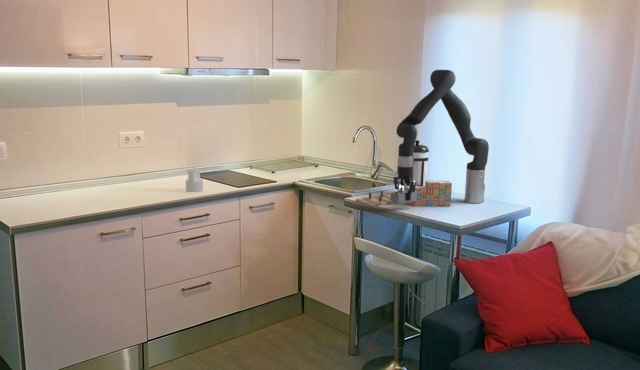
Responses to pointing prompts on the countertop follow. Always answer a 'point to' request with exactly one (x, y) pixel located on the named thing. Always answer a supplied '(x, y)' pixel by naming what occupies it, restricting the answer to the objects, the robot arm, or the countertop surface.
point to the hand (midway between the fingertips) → (404, 199)
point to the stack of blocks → (433, 194)
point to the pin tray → (376, 200)
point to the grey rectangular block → (403, 196)
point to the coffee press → (419, 164)
